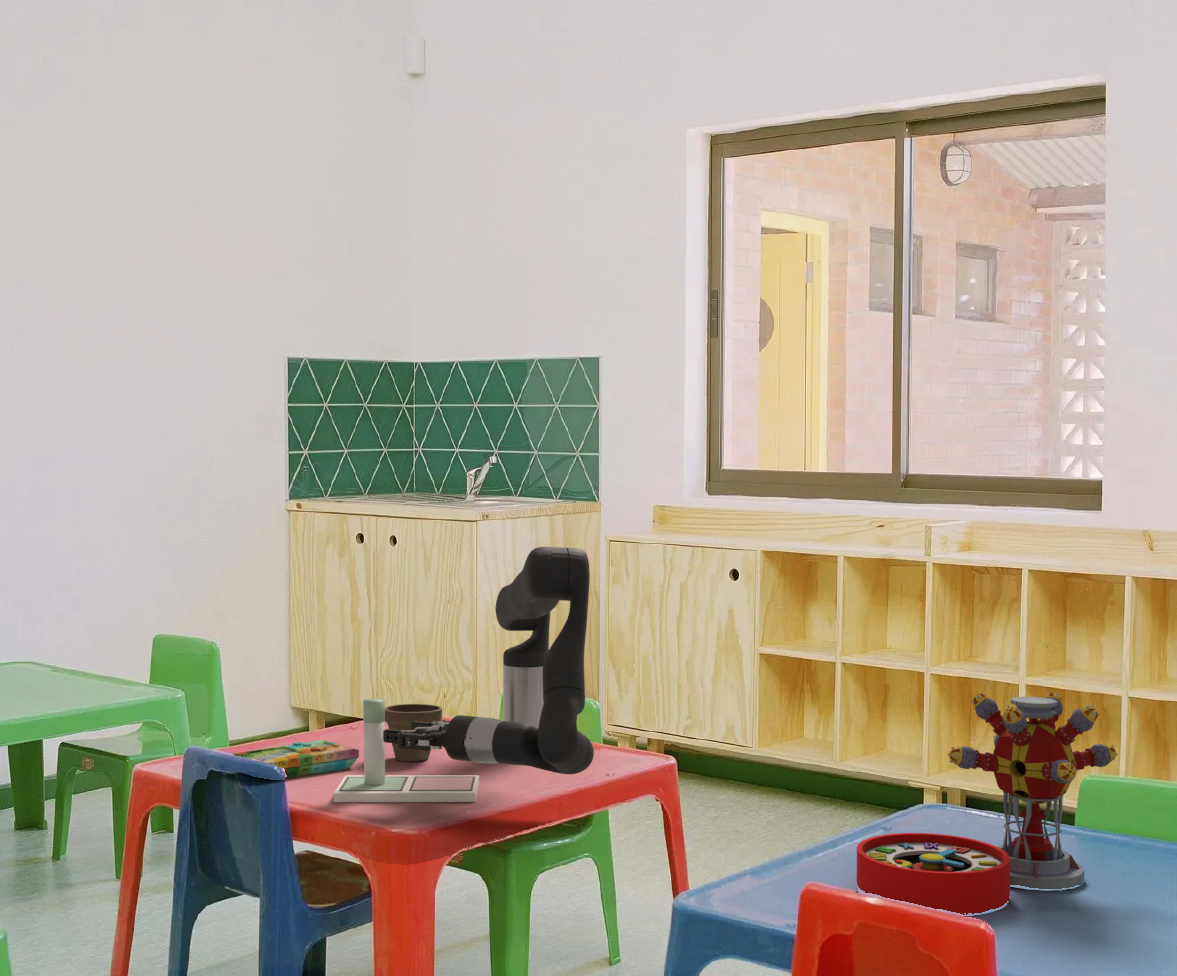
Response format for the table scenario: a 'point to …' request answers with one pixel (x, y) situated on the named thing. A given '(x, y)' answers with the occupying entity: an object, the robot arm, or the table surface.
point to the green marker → (374, 741)
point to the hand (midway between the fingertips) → (398, 731)
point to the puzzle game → (306, 757)
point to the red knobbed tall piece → (1035, 780)
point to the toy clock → (935, 871)
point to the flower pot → (402, 720)
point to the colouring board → (409, 789)
